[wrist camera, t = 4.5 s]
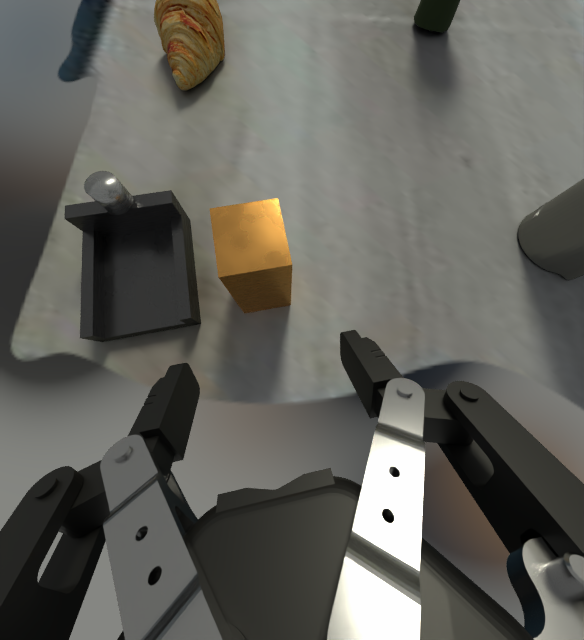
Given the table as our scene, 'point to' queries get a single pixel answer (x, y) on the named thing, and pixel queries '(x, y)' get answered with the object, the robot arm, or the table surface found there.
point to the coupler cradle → (133, 262)
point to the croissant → (190, 38)
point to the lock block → (253, 254)
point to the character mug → (436, 14)
